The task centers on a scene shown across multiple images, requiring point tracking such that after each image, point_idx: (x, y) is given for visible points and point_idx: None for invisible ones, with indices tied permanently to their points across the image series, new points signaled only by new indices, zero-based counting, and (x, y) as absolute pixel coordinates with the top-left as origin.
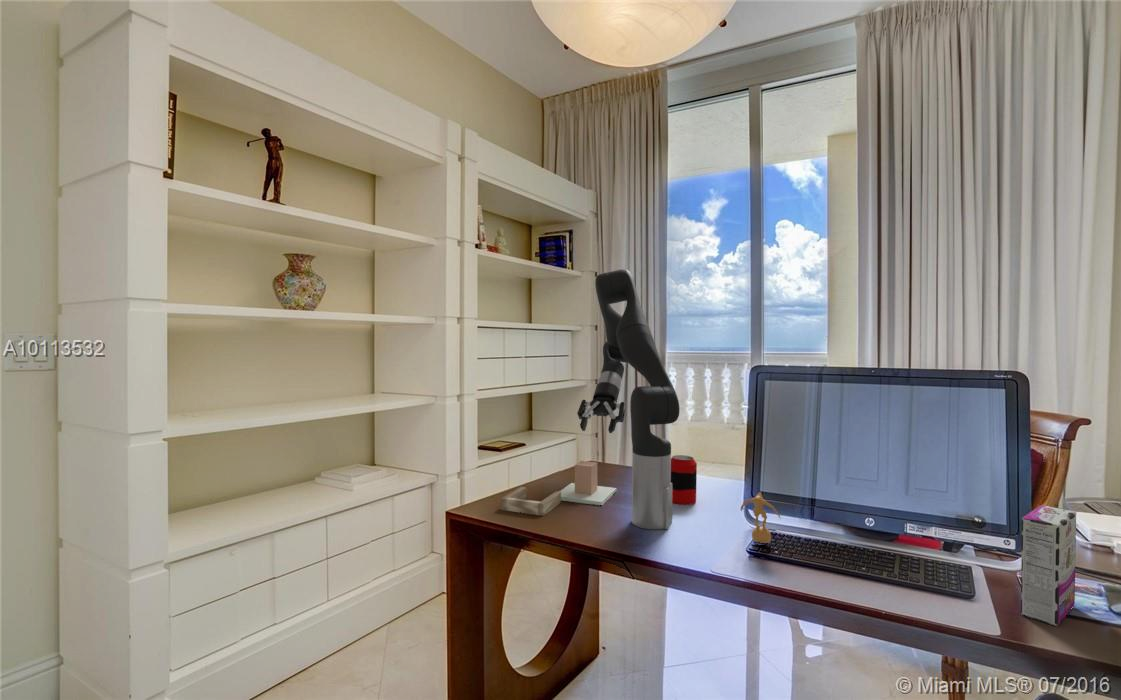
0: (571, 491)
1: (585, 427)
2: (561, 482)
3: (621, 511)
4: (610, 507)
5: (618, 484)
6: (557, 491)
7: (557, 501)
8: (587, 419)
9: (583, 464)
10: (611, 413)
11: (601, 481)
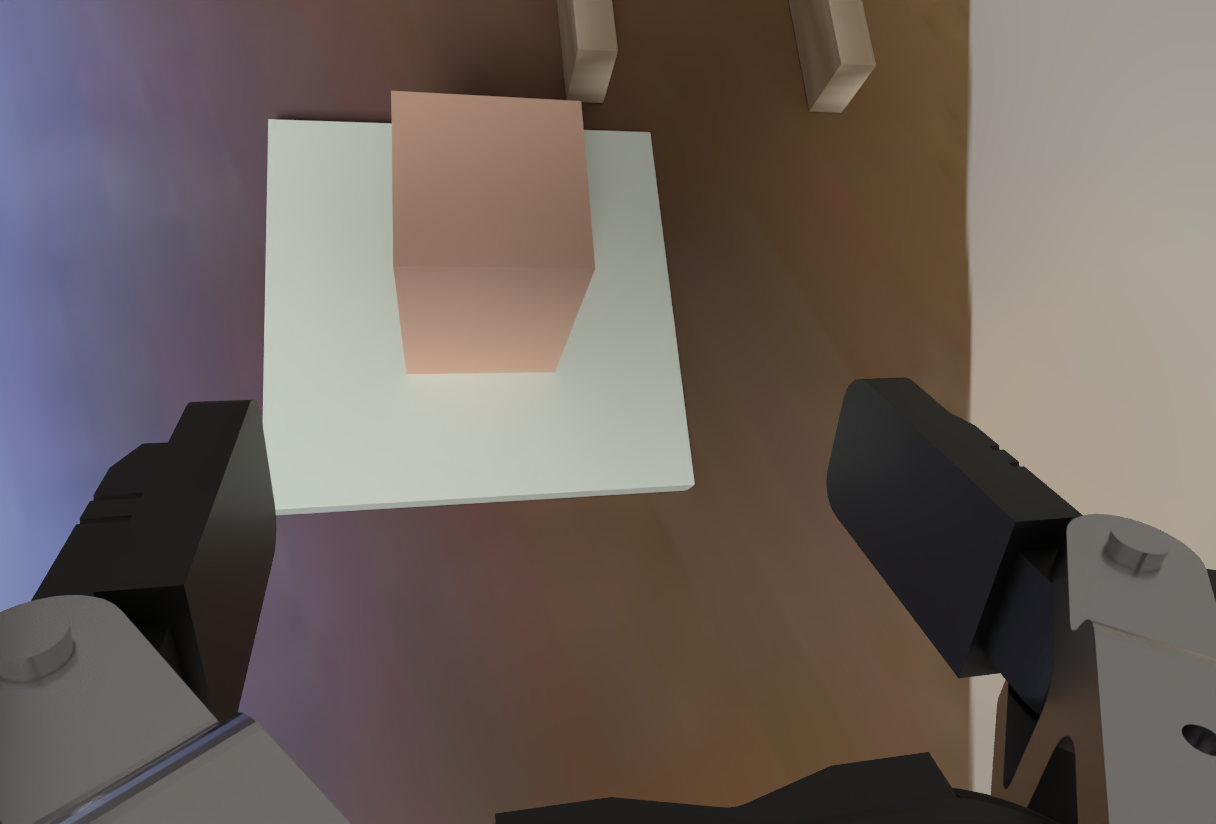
0: None
1: (866, 524)
2: (811, 555)
3: (95, 75)
4: (200, 126)
5: (319, 761)
6: (603, 48)
7: (565, 34)
8: (1010, 695)
9: (505, 137)
10: (133, 777)
11: (515, 776)
